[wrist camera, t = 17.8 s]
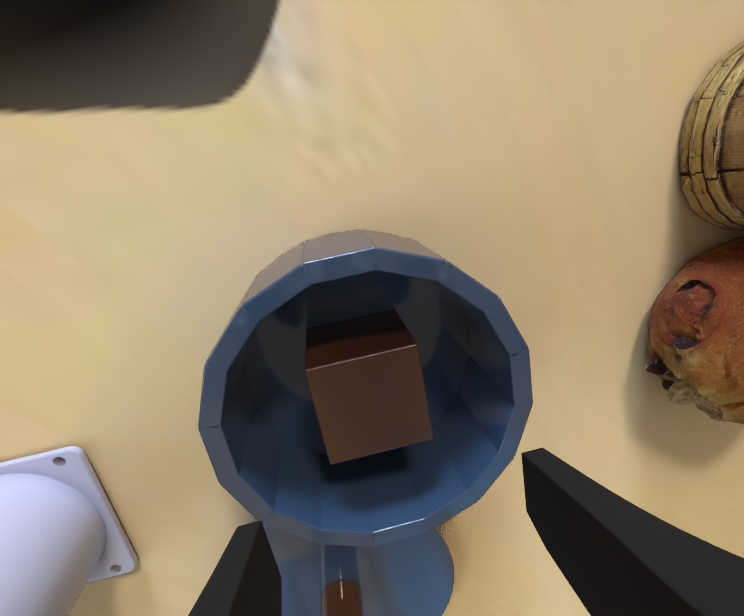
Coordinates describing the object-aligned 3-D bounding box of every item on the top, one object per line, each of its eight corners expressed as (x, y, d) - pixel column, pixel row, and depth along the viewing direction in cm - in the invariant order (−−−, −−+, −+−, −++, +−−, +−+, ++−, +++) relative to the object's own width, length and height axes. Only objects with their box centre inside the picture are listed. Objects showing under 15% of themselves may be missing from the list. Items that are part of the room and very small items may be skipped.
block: (326, 408, 21) (329, 466, 17) (305, 329, 20) (303, 370, 16) (410, 388, 21) (434, 439, 17) (396, 308, 20) (418, 343, 16)
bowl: (268, 486, 23) (255, 579, 17) (192, 262, 19) (147, 296, 13) (490, 430, 24) (540, 503, 18) (464, 205, 19) (519, 216, 14)
